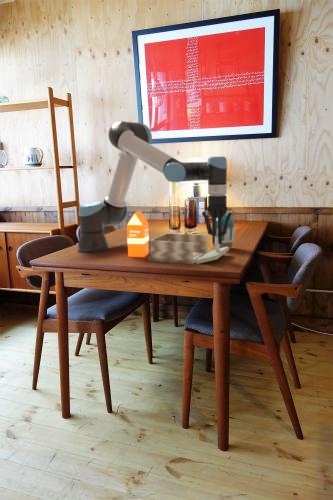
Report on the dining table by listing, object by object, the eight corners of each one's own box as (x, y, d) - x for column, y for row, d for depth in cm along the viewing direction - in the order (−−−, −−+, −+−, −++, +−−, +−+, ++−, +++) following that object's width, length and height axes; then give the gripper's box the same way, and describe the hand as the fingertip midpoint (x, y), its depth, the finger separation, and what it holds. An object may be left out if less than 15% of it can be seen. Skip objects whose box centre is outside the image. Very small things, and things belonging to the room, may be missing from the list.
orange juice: (127, 256, 176) (125, 212, 172) (134, 252, 184) (132, 210, 180) (144, 257, 174) (142, 213, 170) (149, 252, 182) (148, 210, 178)
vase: (208, 248, 188) (207, 209, 184) (227, 246, 192) (227, 208, 188) (218, 252, 179) (218, 211, 175) (238, 250, 182) (238, 210, 178)
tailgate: (195, 260, 158) (216, 255, 154) (209, 250, 175) (228, 246, 171) (196, 263, 158) (217, 259, 154) (210, 253, 175) (229, 249, 171)
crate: (148, 261, 166) (148, 240, 164) (167, 251, 184) (166, 232, 182) (192, 264, 158) (192, 243, 156) (207, 254, 176) (207, 234, 174)
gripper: (199, 195, 158) (199, 251, 163) (230, 195, 152) (229, 253, 157) (205, 194, 164) (205, 248, 169) (235, 194, 159) (234, 250, 164)
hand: (217, 251), depth 163 cm, fingers closed
